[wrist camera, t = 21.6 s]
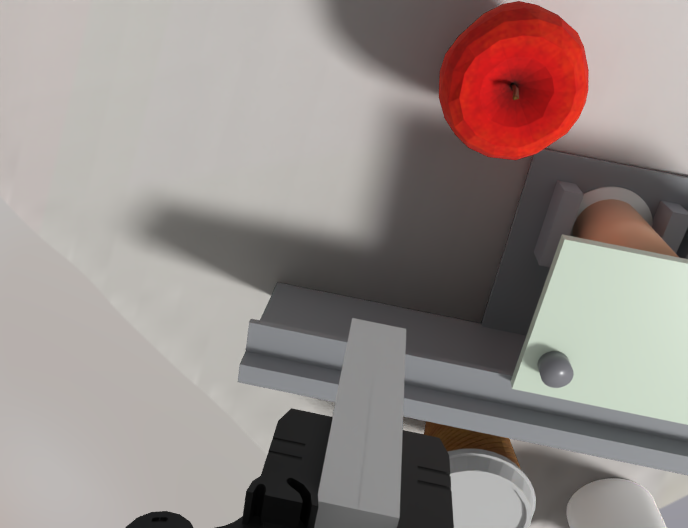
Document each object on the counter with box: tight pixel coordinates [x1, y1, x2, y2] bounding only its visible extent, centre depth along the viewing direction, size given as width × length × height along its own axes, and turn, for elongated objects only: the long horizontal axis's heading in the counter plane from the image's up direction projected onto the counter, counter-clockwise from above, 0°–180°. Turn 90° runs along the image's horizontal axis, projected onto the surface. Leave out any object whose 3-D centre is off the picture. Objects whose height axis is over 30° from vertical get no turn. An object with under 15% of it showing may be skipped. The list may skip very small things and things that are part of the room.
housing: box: [238, 149, 688, 475], centre depth 44 cm, size 17×39×12 cm, turn 80°
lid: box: [511, 234, 688, 425], centre depth 39 cm, size 11×18×2 cm, turn 80°
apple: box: [439, 1, 588, 160], centre depth 39 cm, size 9×9×11 cm
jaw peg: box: [573, 199, 679, 257], centre depth 44 cm, size 5×5×9 cm
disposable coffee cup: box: [424, 421, 536, 528], centre depth 52 cm, size 10×10×12 cm
